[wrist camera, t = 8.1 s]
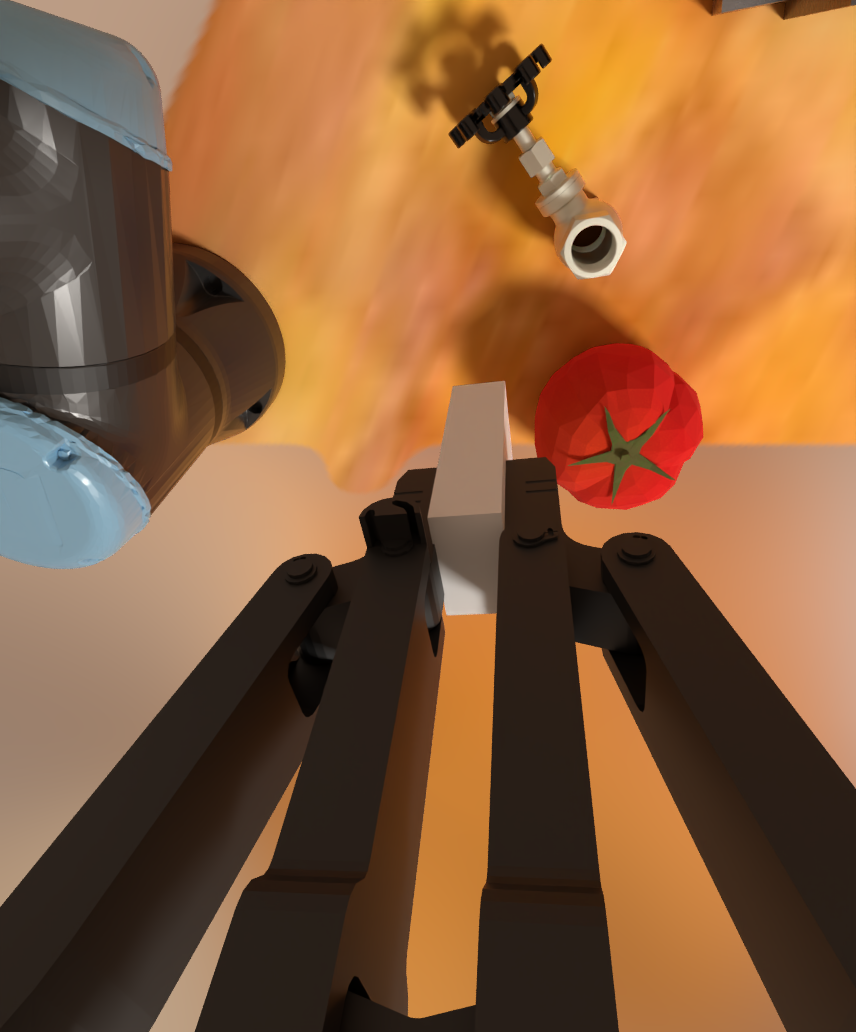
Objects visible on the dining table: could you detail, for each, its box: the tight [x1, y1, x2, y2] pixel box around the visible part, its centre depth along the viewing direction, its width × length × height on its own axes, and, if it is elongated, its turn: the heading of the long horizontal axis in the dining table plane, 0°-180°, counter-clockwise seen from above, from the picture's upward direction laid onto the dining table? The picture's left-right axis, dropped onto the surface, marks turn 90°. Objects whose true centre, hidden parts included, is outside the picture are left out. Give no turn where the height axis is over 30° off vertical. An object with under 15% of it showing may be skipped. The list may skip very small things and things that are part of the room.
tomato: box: [535, 343, 703, 510], centre depth 44 cm, size 12×12×10 cm
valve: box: [449, 44, 627, 279], centre depth 37 cm, size 7×7×12 cm
